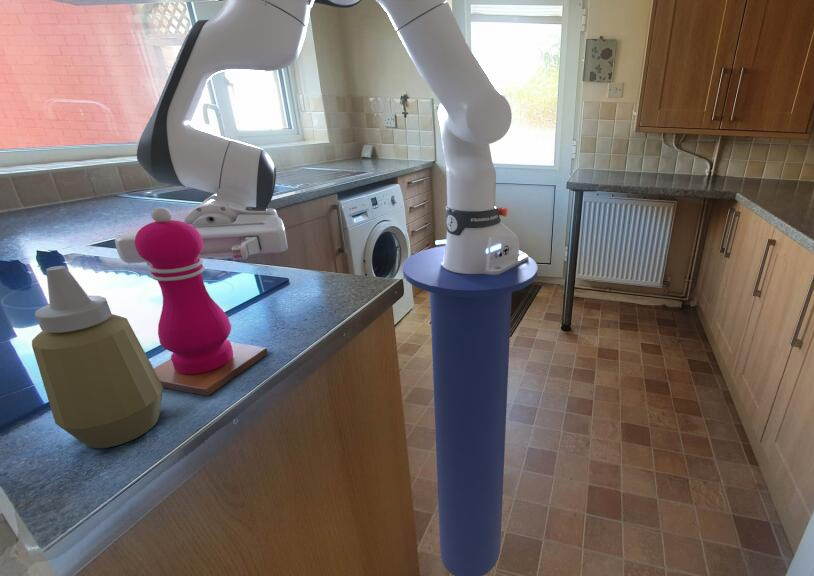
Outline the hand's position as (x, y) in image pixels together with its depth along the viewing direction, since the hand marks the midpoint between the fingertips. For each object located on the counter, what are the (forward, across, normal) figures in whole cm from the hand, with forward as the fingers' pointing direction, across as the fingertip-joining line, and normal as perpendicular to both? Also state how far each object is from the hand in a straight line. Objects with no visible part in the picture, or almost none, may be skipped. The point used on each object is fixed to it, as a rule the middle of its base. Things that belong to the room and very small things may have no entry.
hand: (197, 256), depth 54 cm
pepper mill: (+7, 0, +12) cm, 14 cm away
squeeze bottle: (+17, -6, +13) cm, 22 cm away
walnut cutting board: (+7, 0, +13) cm, 15 cm away
